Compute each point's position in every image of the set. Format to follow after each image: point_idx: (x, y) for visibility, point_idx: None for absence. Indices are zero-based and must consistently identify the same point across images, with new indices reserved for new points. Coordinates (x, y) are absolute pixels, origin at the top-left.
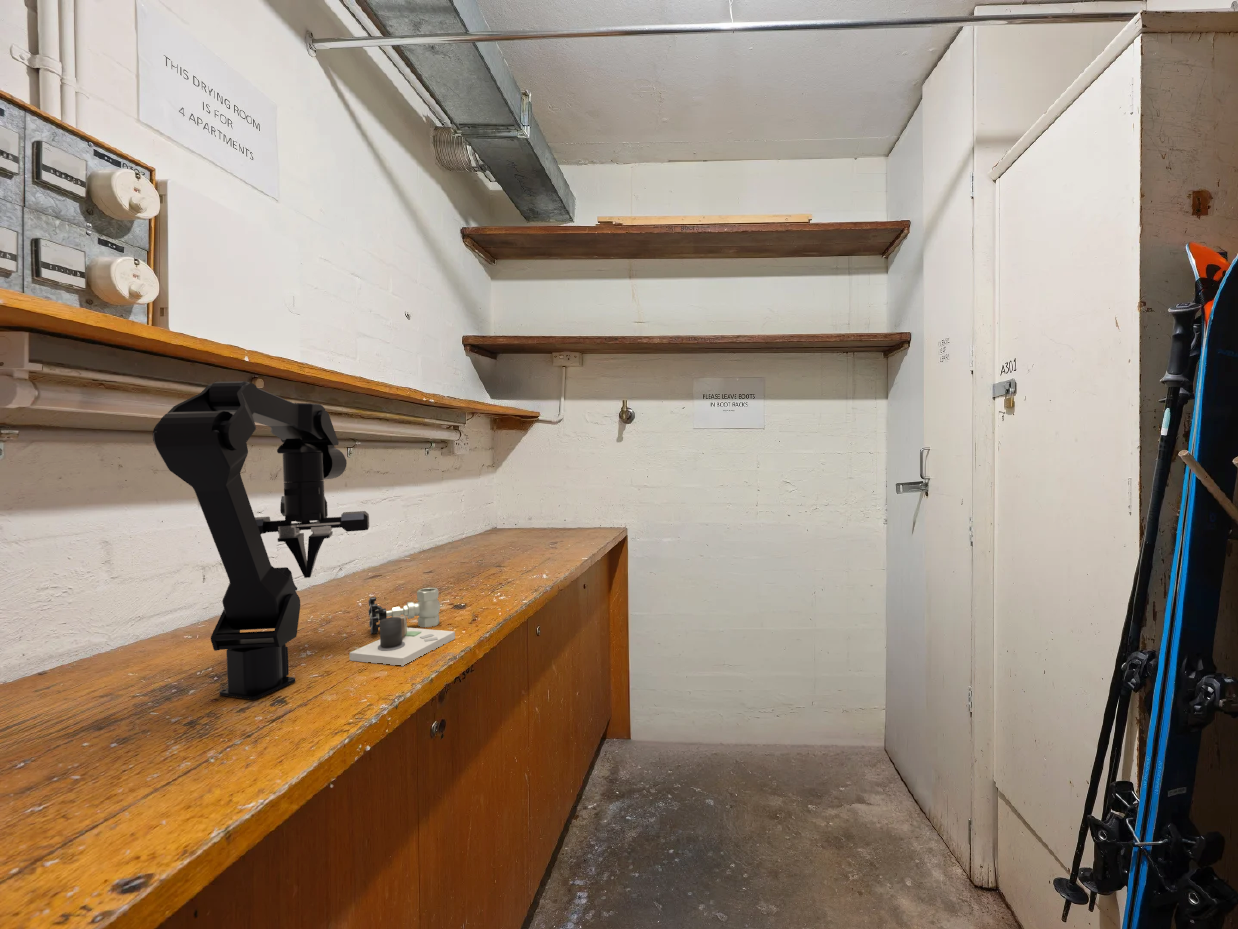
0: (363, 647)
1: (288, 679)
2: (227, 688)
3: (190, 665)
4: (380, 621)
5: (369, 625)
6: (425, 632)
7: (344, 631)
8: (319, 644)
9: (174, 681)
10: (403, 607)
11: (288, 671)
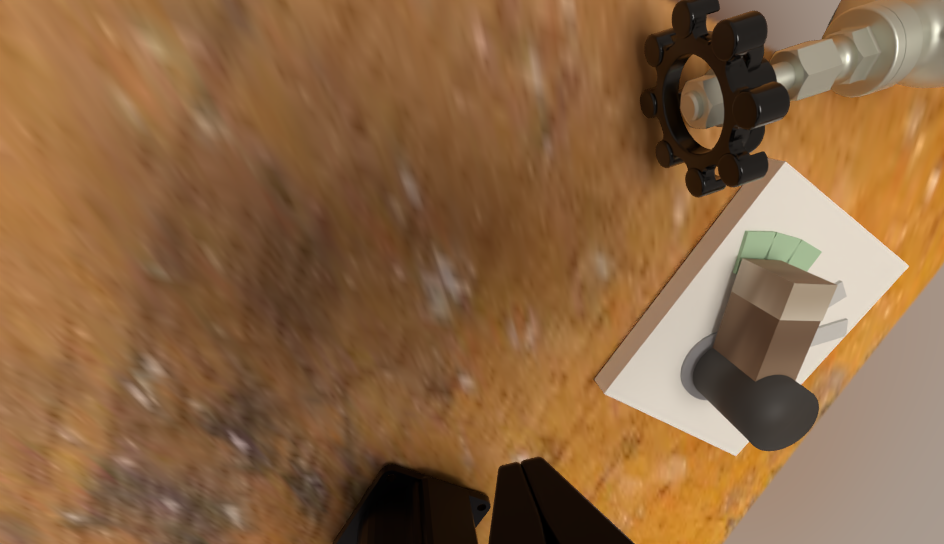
0: (640, 357)
1: (476, 510)
2: (342, 541)
3: (30, 318)
4: (751, 431)
5: (647, 46)
6: (830, 249)
7: (523, 7)
8: (459, 188)
9: (109, 449)
10: (853, 59)
11: (469, 499)
